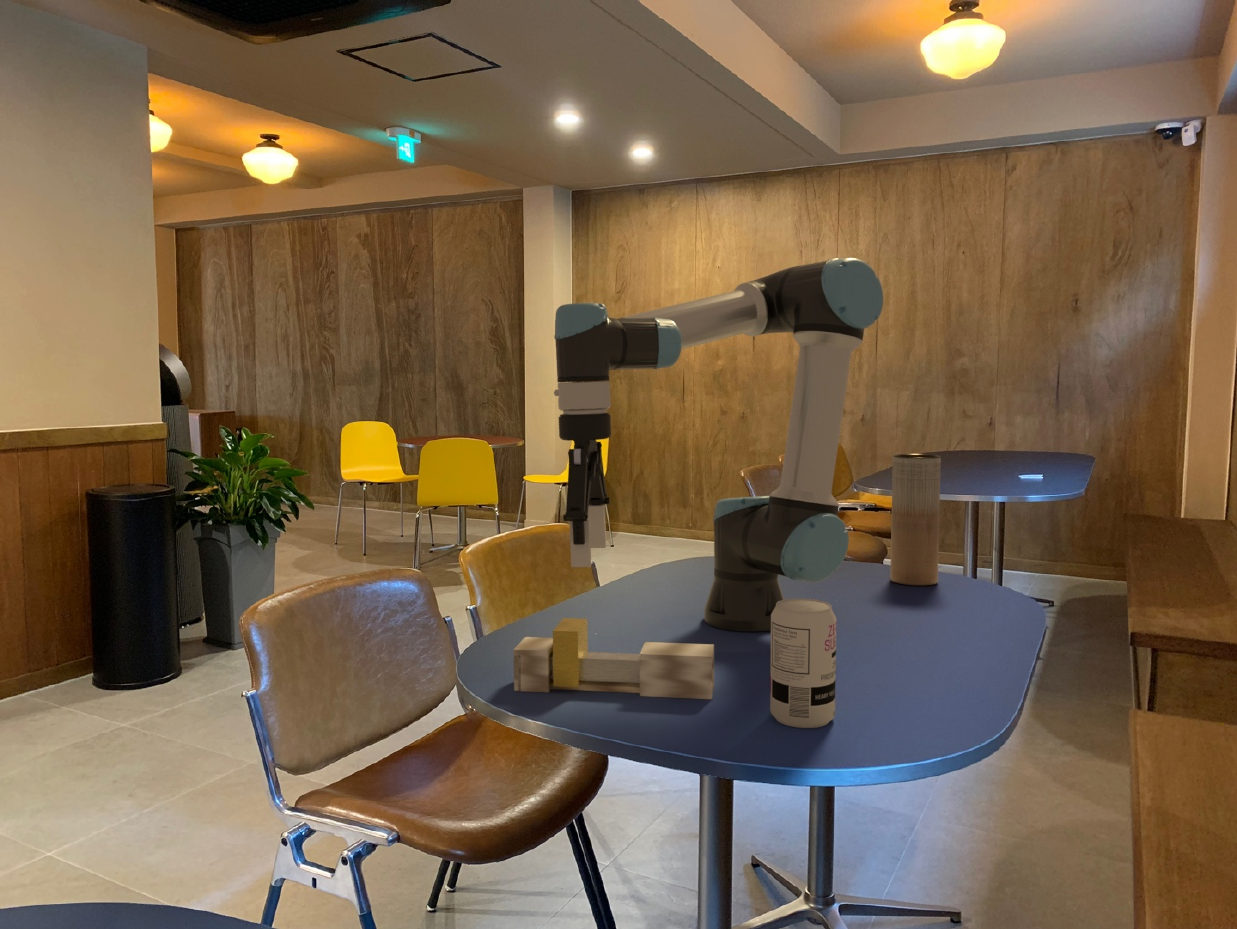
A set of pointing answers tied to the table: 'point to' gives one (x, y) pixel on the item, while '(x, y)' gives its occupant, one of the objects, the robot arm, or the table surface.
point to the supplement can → (803, 663)
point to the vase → (915, 519)
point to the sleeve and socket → (660, 676)
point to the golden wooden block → (587, 658)
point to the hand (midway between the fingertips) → (589, 556)
